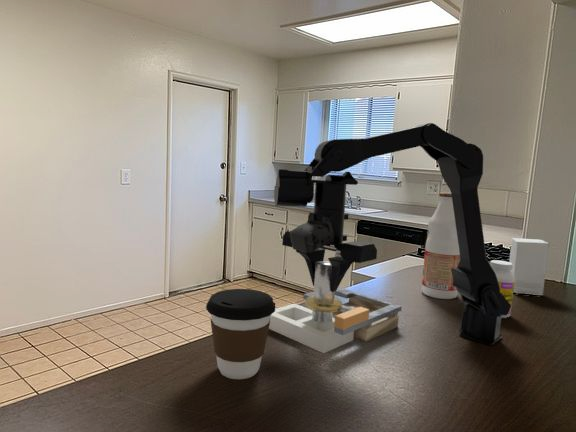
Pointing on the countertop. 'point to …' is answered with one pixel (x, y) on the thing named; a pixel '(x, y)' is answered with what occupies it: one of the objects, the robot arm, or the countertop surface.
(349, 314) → the key plate
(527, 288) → the skincare box
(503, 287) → the supplement bottle
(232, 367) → the coffee cup
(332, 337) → the white hollow block
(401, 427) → the countertop surface
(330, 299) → the flanged silver cylinder
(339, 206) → the robot arm
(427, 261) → the fruit juice
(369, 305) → the socket block
